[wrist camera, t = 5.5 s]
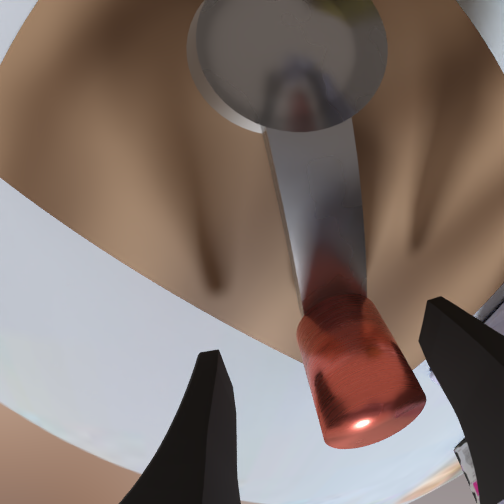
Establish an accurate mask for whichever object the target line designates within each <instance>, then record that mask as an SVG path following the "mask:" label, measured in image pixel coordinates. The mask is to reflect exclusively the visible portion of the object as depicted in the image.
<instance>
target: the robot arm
mask: <svg viewBox="0 0 504 504" xmlns="http://www.w3.org/2000/svg"><path fill="white" fill-rule="evenodd" d="M418 342H419V344H420V346H421V349H422V351H423V354H424V356H425V358H426V360H427V363H428V365H429V367H430V368H431V370H432V372H431V373H430V375H429V376H430V378H431V380H432V381H434V382H435V383H437V384H438V385H440V386H441V387H442V389H443V391H444V393H445V394H446V396H447V398H448V400H449V402H450V403H451V405H452V407H453V409H454V411H455V413H456V415H457V417H458V419H459V422H460V424H461V427H462V430H463V432H464V435H465V438H466V441H467V444H468V447H469V451H470V454H471V457H472V461H473V465H474V470H475V474H476V479H477V485H478V492H479V500H480V504H504V303H503V304H502V305H501V306H500V307H499V308H498V309H497V310H496V311H495V312H494V314H493V315H492V316H491V317H490V318H489V319H488V320H487V321H486V322H485V323H483V322H481V321H480V320H478V319H477V318H475V317H473V316H472V315H470V314H469V313H467V312H466V311H464V310H463V309H461V308H460V307H458V306H457V305H455V304H453V303H452V302H450V301H449V300H447V299H445V298H444V297H442V296H439V297H436V298H433V299H430V300H427V303H426V308H425V313H424V318H423V323H422V327H421V332H420V336H419V340H418ZM119 504H241V503H240V495H239V487H238V479H237V435H236V408H235V400H234V392H233V386H232V383H231V381H230V378H229V376H228V373H227V370H226V368H225V365H224V362H223V360H222V357H221V354H220V352H219V350H213V351H207V352H201V353H200V354H199V355H198V357H197V360H196V364H195V367H194V370H193V373H192V376H191V379H190V381H189V384H188V387H187V389H186V392H185V394H184V397H183V399H182V401H181V404H180V406H179V409H178V411H177V413H176V415H175V417H174V419H173V422H172V424H171V426H170V428H169V430H168V432H167V434H166V436H165V438H164V440H163V441H162V443H161V445H160V447H159V449H158V450H157V452H156V454H155V455H154V457H153V459H152V460H151V462H150V463H149V465H148V466H147V468H146V469H145V471H144V472H143V474H142V475H141V477H140V478H139V479H138V481H137V482H136V483H135V485H134V486H133V487H132V489H131V490H130V491H129V492H128V493H127V495H126V496H125V497H124V498H123V500H122V501H121V502H120V503H119Z"/></svg>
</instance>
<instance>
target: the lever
mask: <svg viewBox="0 0 504 504" xmlns="http://www.w3.org/2000/svg"><path fill="white" fill-rule="evenodd" d="M196 49H197V54H198V59H199V62H200V65H201V68H202V71H203V73H204V75H205V77H206V79H207V81H208V83H209V84H210V85H211V87H212V88H213V90H214V91H215V93H216V94H217V95H218V96H219V97H220V98H221V99H222V100H223V101H224V102H225V103H226V104H227V105H228V106H229V107H231V108H232V109H233V110H234V111H236V112H237V113H239V114H240V115H242V116H243V117H245V118H247V119H249V120H251V121H253V122H255V123H257V124H259V125H260V127H261V131H262V135H263V140H264V144H265V148H266V153H267V157H268V161H269V166H270V170H271V175H272V179H273V183H274V188H275V193H276V197H277V202H278V206H279V211H280V216H281V220H282V225H283V230H284V235H285V239H286V244H287V249H288V254H289V259H290V264H291V269H292V274H293V279H294V284H295V289H296V294H297V300H298V305H299V310H300V314H301V317H302V319H301V321H300V323H299V325H298V328H297V332H296V338H297V342H298V346H299V349H300V353H301V357H302V360H303V364H304V367H305V371H306V375H307V378H308V382H309V385H310V389H311V393H312V396H313V400H314V404H315V407H316V411H317V415H318V419H319V422H320V426H321V430H322V434H323V437H324V441H325V443H326V444H327V445H329V446H331V447H333V448H338V449H352V448H358V447H363V446H367V445H370V444H373V443H376V442H379V441H381V440H384V439H386V438H388V437H390V436H392V435H394V434H395V433H397V432H399V431H400V430H402V429H403V428H405V427H406V426H407V425H409V424H410V423H411V422H412V421H413V420H414V419H415V418H416V417H417V416H418V415H419V414H420V413H421V411H422V410H423V408H424V406H425V403H426V396H425V394H424V392H423V390H422V388H421V386H420V384H419V382H418V380H417V378H416V377H415V375H414V373H413V371H412V369H411V367H410V366H409V364H408V362H407V360H406V358H405V357H404V355H403V353H402V351H401V349H400V348H399V346H398V344H397V342H396V341H395V339H394V337H393V335H392V334H391V332H390V330H389V328H388V327H387V325H386V323H385V322H384V320H383V318H382V317H381V315H380V313H379V312H378V310H377V308H376V307H375V305H374V304H373V302H372V301H371V300H370V299H368V298H367V273H366V250H365V233H364V219H363V207H362V196H361V186H360V176H359V168H358V159H357V151H356V144H355V137H354V130H353V123H352V116H354V115H355V114H356V113H358V112H359V111H360V110H361V109H362V108H363V107H364V106H365V105H366V104H368V102H369V101H370V100H371V98H372V97H373V96H374V95H375V93H376V91H377V89H378V88H379V86H380V84H381V81H382V79H383V76H384V73H385V69H386V65H387V57H388V43H387V37H386V31H385V28H384V25H383V21H382V19H381V17H380V15H379V12H378V10H377V9H376V7H375V5H374V4H373V2H372V1H371V0H206V1H205V2H204V5H203V7H202V9H201V11H200V15H199V18H198V22H197V28H196Z"/></svg>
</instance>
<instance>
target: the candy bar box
mask: <svg viewBox="0 0 504 504" xmlns="http://www.w3.org/2000/svg"><path fill="white" fill-rule="evenodd" d="M454 452H455V454H456V457H457V459H458V461H459V463H460V465H461V467H462V470H463V472H464V474H465V476H466V479H467V481H468V483H469V486H470V488H471V491H472V493H473V495H474V498H475V500H476V503H477V504H480V500H479V492H478V485H477V479H476V474H475V470H474V465H473V461H472V457H471V454H470V451H469V447H468V444H467V441H466V439H465V440H464V441H462V442H461V443H460V444H459V445H458V446H457V447H456V448H455V449H454Z"/></svg>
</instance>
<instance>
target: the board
mask: <svg viewBox="0 0 504 504" xmlns="http://www.w3.org/2000/svg"><path fill="white" fill-rule="evenodd" d="M205 1H206V0H38V2H37V3H36V5H35V6H34V8H33V9H32V11H31V12H30V14H29V16H28V17H27V19H26V20H25V22H24V24H23V25H22V27H21V28H20V30H19V32H18V34H17V35H16V37H15V39H14V41H13V42H12V44H11V46H10V48H9V50H8V52H7V53H6V55H5V57H4V59H3V61H2V63H1V65H0V178H2V179H3V180H4V181H6V182H7V183H8V184H9V185H11V186H12V187H13V188H15V189H16V190H17V191H19V192H20V193H21V194H23V195H24V196H25V197H27V198H28V199H30V200H31V201H32V202H34V203H35V204H36V205H38V206H39V207H41V208H42V209H43V210H45V211H46V212H48V213H49V214H50V215H52V216H53V217H55V218H56V219H58V220H59V221H60V222H62V223H63V224H65V225H66V226H68V227H69V228H71V229H72V230H73V231H75V232H76V233H78V234H79V235H81V236H82V237H84V238H85V239H87V240H88V241H90V242H91V243H93V244H94V245H96V246H97V247H99V248H100V249H102V250H104V251H105V252H107V253H108V254H110V255H111V256H113V257H114V258H116V259H118V260H119V261H121V262H122V263H124V264H125V265H127V266H129V267H130V268H132V269H133V270H135V271H137V272H138V273H140V274H141V275H143V276H145V277H146V278H148V279H150V280H151V281H153V282H155V283H156V284H158V285H160V286H161V287H163V288H165V289H166V290H168V291H170V292H171V293H173V294H175V295H176V296H178V297H180V298H182V299H183V300H185V301H187V302H189V303H190V304H192V305H194V306H196V307H197V308H199V309H201V310H203V311H204V312H206V313H208V314H210V315H211V316H213V317H215V318H217V319H219V320H221V321H222V322H224V323H226V324H228V325H230V326H231V327H233V328H235V329H237V330H239V331H241V332H243V333H245V334H246V335H248V336H250V337H252V338H254V339H256V340H258V341H260V342H262V343H264V344H266V345H267V346H269V347H271V348H273V349H275V350H277V351H279V352H281V353H283V354H285V355H287V356H289V357H291V358H293V359H295V360H297V361H299V362H301V363H303V360H302V357H301V353H300V349H299V346H298V342H297V338H296V332H297V328H298V325H299V323H300V321H301V319H302V317H301V314H300V310H299V305H298V300H297V294H296V289H295V284H294V279H293V274H292V269H291V264H290V259H289V254H288V249H287V244H286V239H285V235H284V230H283V225H282V220H281V216H280V211H279V206H278V202H277V197H276V193H275V188H274V183H273V179H272V175H271V170H270V166H269V161H268V157H267V153H266V148H265V144H264V140H263V135H262V131H261V127H260V125H259V124H257V123H255V122H253V121H251V120H249V119H247V118H245V117H243V116H242V115H240V114H239V113H237V112H236V111H234V110H233V109H232V108H231V107H229V106H228V105H227V104H226V103H225V102H224V101H223V100H222V99H221V98H220V97H219V96H218V95H217V94H216V93H215V91H214V90H213V88H212V87H211V85H210V84H209V83H208V81H207V79H206V77H205V75H204V73H203V71H202V68H201V65H200V62H199V59H198V54H197V49H196V28H197V22H198V18H199V15H200V11H201V9H202V7H203V5H204V2H205ZM371 1H372V2H373V4H374V5H375V7H376V9H377V10H378V12H379V15H380V17H381V19H382V21H383V25H384V28H385V31H386V37H387V43H388V57H387V65H386V69H385V73H384V76H383V79H382V81H381V84H380V86H379V88H378V89H377V91H376V93H375V95H374V96H373V97H372V98H371V100H370V101H369V102H368V104H366V105H365V106H364V107H363V108H362V109H361V110H360V111H359V112H358V113H356V114H355V115H354V116H352V123H353V130H354V137H355V144H356V151H357V159H358V168H359V176H360V186H361V196H362V207H363V219H364V233H365V250H366V273H367V298H368V299H370V300H371V301H372V302H373V304H374V305H375V307H376V308H377V310H378V312H379V313H380V315H381V317H382V318H383V320H384V322H385V323H386V325H387V327H388V328H389V330H390V332H391V334H392V335H393V337H394V339H395V341H396V342H397V344H398V346H399V348H400V349H401V351H402V353H403V355H404V357H405V358H406V360H407V362H408V364H409V366H410V367H411V369H412V370H413V369H414V368H416V367H417V366H418V365H419V364H421V363H422V362H423V361H424V360H425V359H426V358H425V356H424V354H423V351H422V349H421V346H420V344H419V342H418V340H419V336H420V332H421V327H422V323H423V318H424V313H425V308H426V303H427V300H430V299H433V298H436V297H439V296H442V297H444V298H445V299H447V300H449V301H450V302H452V303H453V304H455V305H457V306H458V307H460V308H461V309H463V310H464V311H466V312H467V313H469V314H470V315H472V316H473V315H474V314H475V313H476V312H477V311H478V310H479V309H480V308H481V307H482V306H483V305H484V304H485V303H486V302H487V301H488V299H489V298H490V297H491V296H492V295H493V294H494V293H495V292H496V291H497V290H498V289H499V287H500V286H501V285H502V284H503V283H504V74H503V72H502V70H501V68H500V66H499V65H498V63H497V61H496V59H495V58H494V56H493V54H492V53H491V51H490V49H489V48H488V46H487V44H486V43H485V41H484V40H483V38H482V37H481V35H480V34H479V32H478V31H477V29H476V28H475V26H474V25H473V23H472V22H471V20H470V19H469V18H468V16H467V15H466V13H465V12H464V11H463V9H462V8H461V7H460V5H459V4H458V3H457V1H456V0H371Z"/></svg>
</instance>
